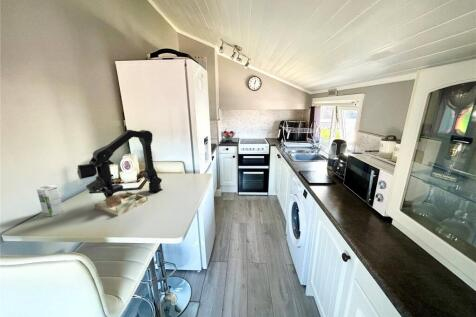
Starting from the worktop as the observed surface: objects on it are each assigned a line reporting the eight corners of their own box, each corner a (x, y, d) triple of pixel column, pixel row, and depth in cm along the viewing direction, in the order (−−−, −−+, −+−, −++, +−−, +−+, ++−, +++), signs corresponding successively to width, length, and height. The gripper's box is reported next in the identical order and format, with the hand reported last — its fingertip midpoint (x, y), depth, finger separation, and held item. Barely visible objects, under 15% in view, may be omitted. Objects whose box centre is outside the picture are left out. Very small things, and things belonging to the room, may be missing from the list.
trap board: (126, 194, 119) (125, 188, 118) (148, 200, 111) (147, 193, 110) (95, 208, 103) (93, 200, 102) (118, 216, 95) (116, 207, 94)
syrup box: (42, 215, 96) (35, 188, 92) (56, 209, 102) (49, 184, 98) (51, 216, 95) (43, 190, 91) (64, 210, 100) (57, 185, 97)
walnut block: (115, 201, 105) (114, 194, 104) (121, 203, 103) (120, 196, 102) (106, 205, 101) (105, 198, 100) (112, 207, 99) (111, 200, 98)
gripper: (76, 175, 97) (82, 203, 101) (98, 181, 89) (104, 211, 93) (99, 169, 106) (104, 195, 110) (121, 174, 99) (126, 201, 103)
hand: (109, 200), depth 104 cm, fingers closed
